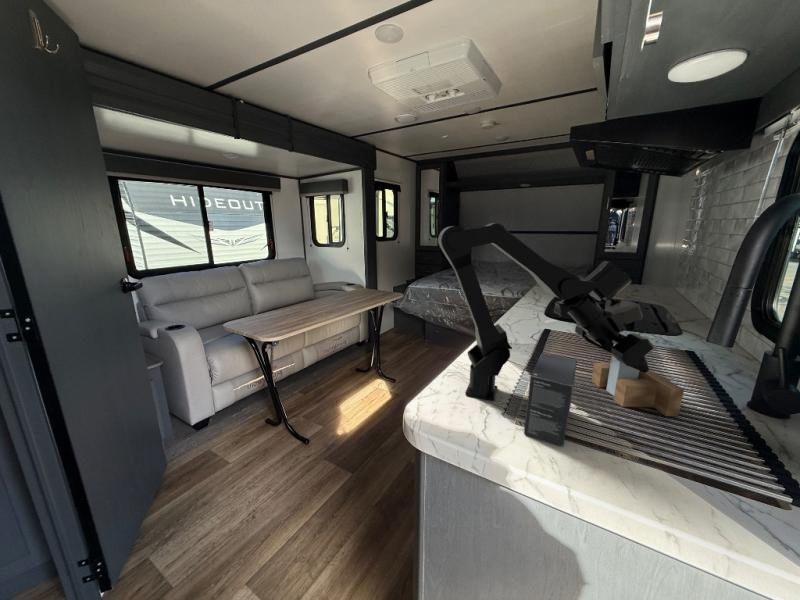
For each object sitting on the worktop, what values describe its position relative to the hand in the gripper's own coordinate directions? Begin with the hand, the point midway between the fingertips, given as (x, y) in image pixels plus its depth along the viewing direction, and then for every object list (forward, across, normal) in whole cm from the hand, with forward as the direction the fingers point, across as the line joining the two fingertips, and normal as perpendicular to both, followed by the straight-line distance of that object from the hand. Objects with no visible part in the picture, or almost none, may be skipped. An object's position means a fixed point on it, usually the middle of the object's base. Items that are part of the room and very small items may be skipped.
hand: (631, 362), depth 70 cm
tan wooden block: (+5, 0, +6) cm, 8 cm away
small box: (-11, -12, +22) cm, 27 cm away
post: (+4, 0, +6) cm, 8 cm away
